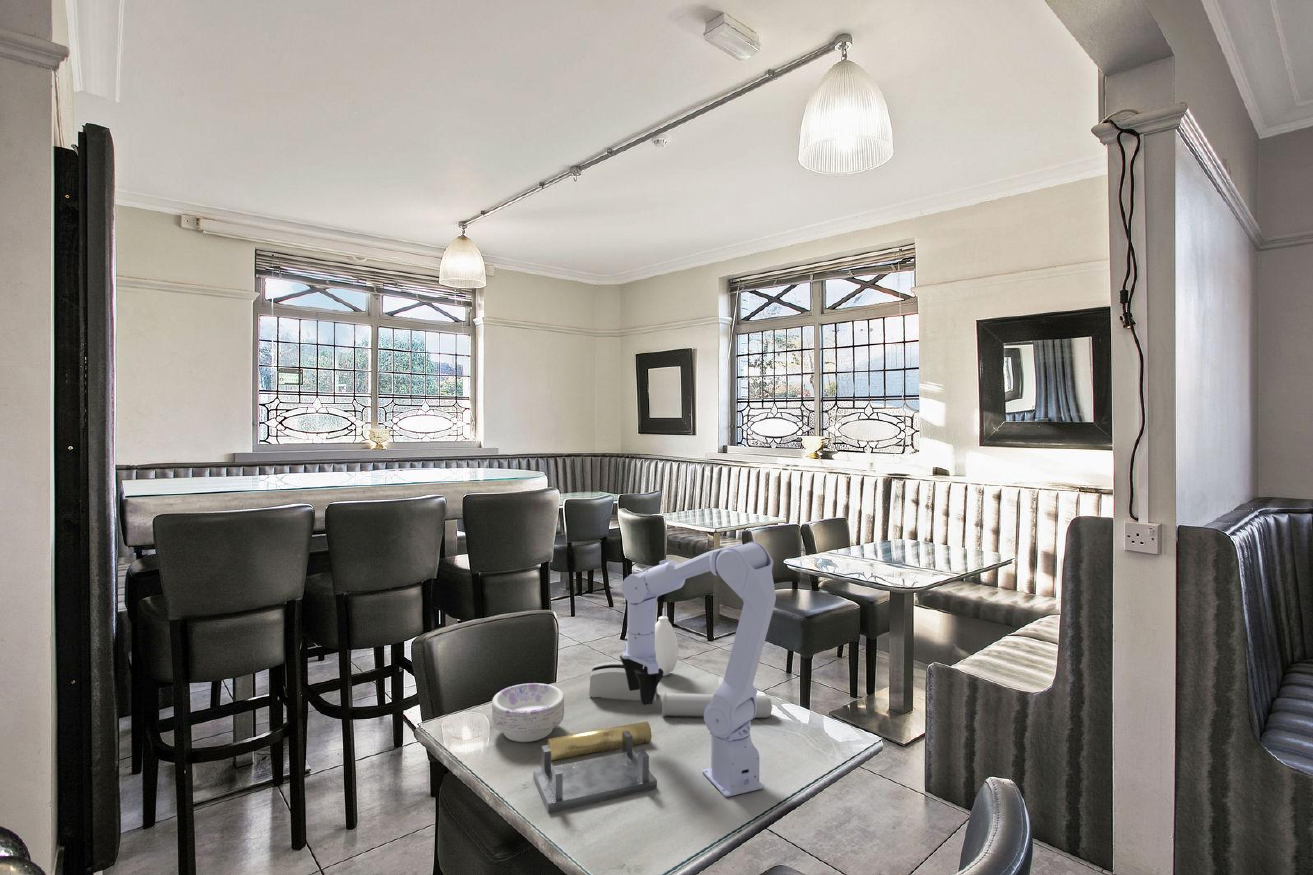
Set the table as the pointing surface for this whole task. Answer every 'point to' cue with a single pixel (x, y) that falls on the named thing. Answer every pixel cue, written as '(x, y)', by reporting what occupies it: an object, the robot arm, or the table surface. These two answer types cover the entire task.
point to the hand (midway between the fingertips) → (640, 696)
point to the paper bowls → (527, 711)
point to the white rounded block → (612, 682)
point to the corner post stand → (593, 777)
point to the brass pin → (597, 740)
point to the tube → (703, 705)
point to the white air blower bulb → (665, 645)
